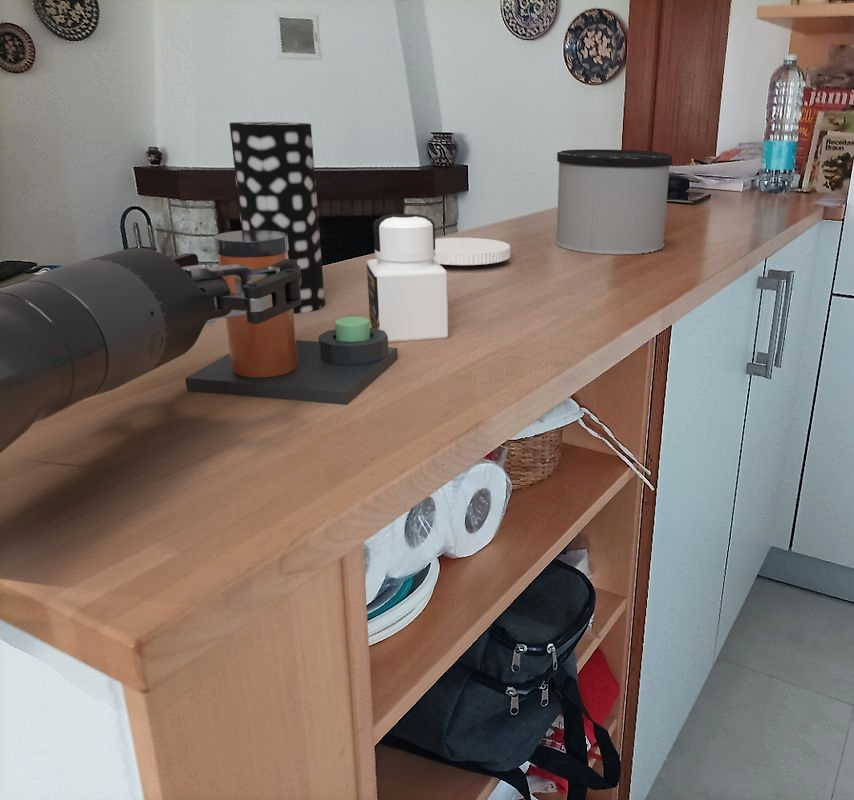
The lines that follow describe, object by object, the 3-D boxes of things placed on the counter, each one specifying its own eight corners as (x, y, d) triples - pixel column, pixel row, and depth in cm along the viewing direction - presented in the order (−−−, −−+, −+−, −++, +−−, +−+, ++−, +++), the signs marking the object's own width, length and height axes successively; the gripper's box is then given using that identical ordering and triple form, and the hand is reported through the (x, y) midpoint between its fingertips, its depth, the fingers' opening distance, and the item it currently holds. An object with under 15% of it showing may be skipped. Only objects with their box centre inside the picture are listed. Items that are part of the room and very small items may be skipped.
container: (669, 239, 140) (676, 151, 135) (660, 258, 123) (668, 158, 118) (566, 233, 144) (569, 147, 139) (544, 250, 127) (546, 154, 121)
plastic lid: (475, 276, 107) (475, 258, 107) (396, 264, 114) (395, 247, 113) (527, 260, 119) (527, 243, 118) (452, 250, 125) (451, 234, 124)
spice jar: (217, 375, 65) (199, 239, 60) (252, 355, 70) (237, 228, 66) (280, 381, 64) (266, 243, 60) (310, 360, 69) (299, 231, 65)
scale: (186, 391, 64) (181, 356, 63) (259, 348, 75) (256, 318, 74) (347, 405, 62) (344, 370, 61) (397, 359, 73) (396, 328, 72)
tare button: (330, 343, 69) (329, 324, 68) (344, 333, 72) (343, 315, 71) (363, 345, 68) (361, 326, 68) (375, 336, 71) (374, 317, 70)
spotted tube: (338, 306, 91) (325, 124, 84) (273, 318, 85) (253, 125, 78) (301, 293, 96) (285, 122, 89) (237, 304, 91) (215, 122, 83)
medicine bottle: (369, 325, 84) (363, 211, 79) (435, 320, 86) (432, 210, 82) (378, 344, 78) (372, 222, 73) (449, 339, 80) (446, 220, 75)
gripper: (206, 266, 45) (324, 225, 60) (-12, 253, 47) (155, 217, 62) (222, 389, 47) (331, 320, 62) (15, 371, 50) (169, 309, 65)
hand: (243, 269), depth 62 cm, fingers open, 8 cm apart
